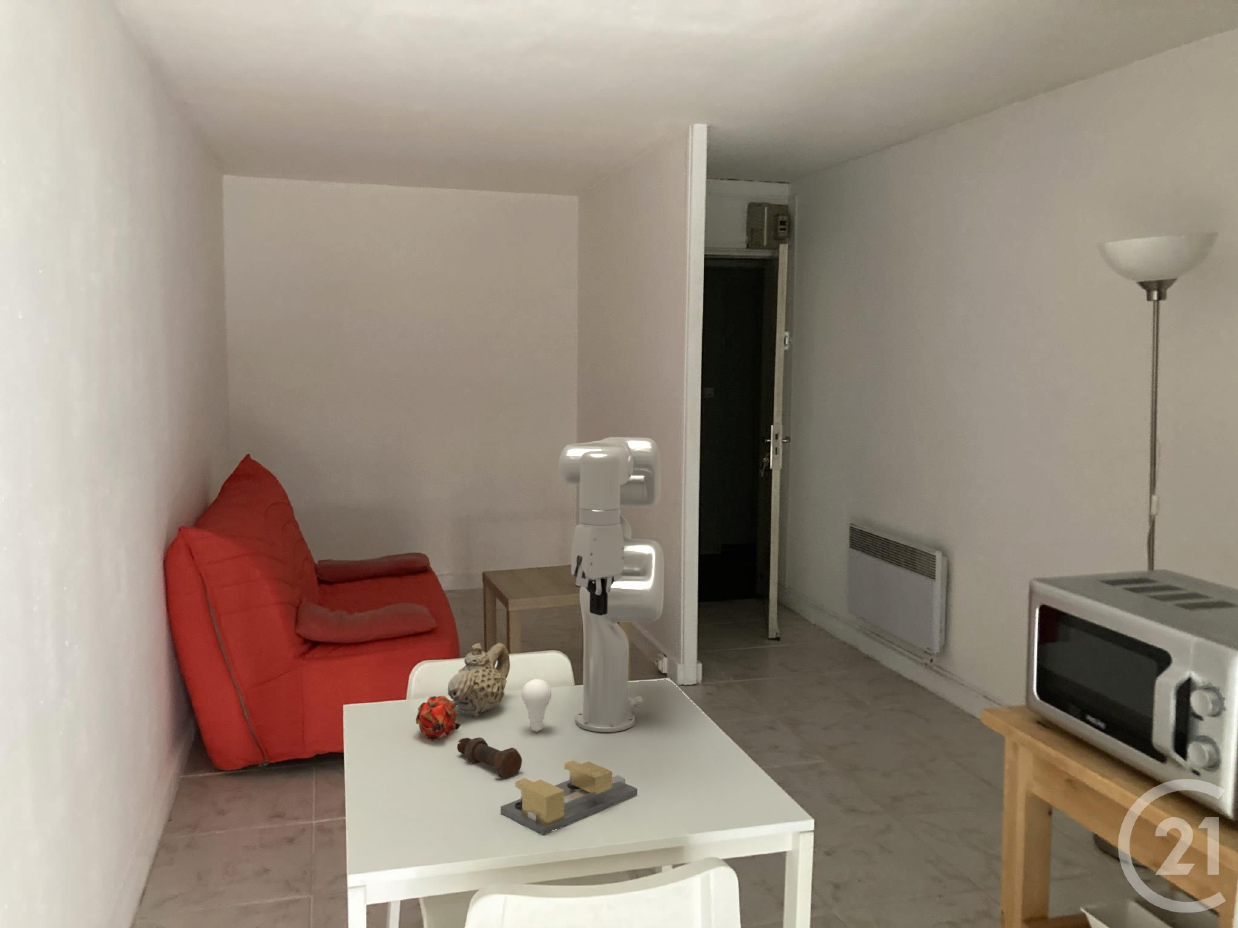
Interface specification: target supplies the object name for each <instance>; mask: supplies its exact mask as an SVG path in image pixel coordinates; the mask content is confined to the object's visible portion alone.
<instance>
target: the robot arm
mask: <svg viewBox="0 0 1238 928" xmlns="http://www.w3.org/2000/svg"><path fill="white" fill-rule="evenodd" d="M661 461H662V460H661V453H660V450H659V446H658V444H657V443H656V441H655V440H653V439H652V438H650V437H633V436H632V437H630V436H629V437H628V436H627V437H626V436H623V437H622V436H619V437H618V436H610V437H606V438H603V439H601V440H593V441H589V442H580V443H571V444H566V446H564V448H563V449H562V450H561V452H560V455H559V460H558V473H559V477H560V479H561V480H562V482H564V484H566V485H570V486H571V485H572V486H579V511H578V512H579V516H578V517H579V518H578V519H579V524H577V525H576V526H575V530H574V534H573V539H572V547H571V558H570V559H571V561H570V573H571V576H572V577H574V578H576V579H575V580H576V582H575V586H577V587H580V589H579V603H580V605H579V606H580V610H581V617H582V628H583V629H582V634H583V636H582V637H583V643H582V644H583V645H582V646H583V652H582V653H583V657H582V658H583V661H582V662H583V665H582V667H583V669H582V670H583V671H582V673H583V676H582V684H583V685H582V710H581V711H579V712H577V714H576V715H575V725H577V726H578V727H579V728H581V729H583V730H585V731H590V732H595V733H616V732H622V731H624V730H625V731H626V730H628V729H630V728H631V727H633V726H634V725H635V722H636V716H635V715H634V713H632V710H633V709H634V708H636V707H640V706H641V705H643V703H644V701H643V697H641V696H640V695H638V696H635V697H632V698H630V696H629V646H630V645H629V640H628V637H627V635H626V633H625V631H624V630H623V629H622V628H621V625H619V622H620V623H621V622H622V623H623V622H625V623H626V622H627V623H629V622H630V623H631V622H632V623H652V622H655V621H657V620H659V619H660V617H661V616H662V614H663V608H664V597H665V596H664V592H665V591H664V589H665V556H664V552H663V548H662V546H661V544H660V543H659V542H658V541H656V540H652V539H647V538H646V539H643V538H632V528H631V525H630V524H629V522H628V521H627V520H626V518H625V517H624V516H623V515H622V512H623V511H622V509H621V507H622V508H624V507H625V508H651V507H654V506H656V505H658V503H659V502H660V499H661V497H662V496H661V495H662V462H661Z"/></svg>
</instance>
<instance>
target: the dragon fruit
mask: <svg viewBox="0 0 1238 928" xmlns="http://www.w3.org/2000/svg"><path fill="white" fill-rule="evenodd" d="M456 707H457V704H456V703H455V702H454V701H453V700H450V699H449V698H448V697H447V696H446V695H439V696H436V695H435V696H429V697H428V699H427V700H426V702H422V703H421V704H420V705H419V706H418V708H417V710H418V712H417V715H416V717H415V724H416V725H418V728H419V732H421V733H424V736H425V737H426V738H427V740H429V741H431V742H435V741H436V740H438V739H441V738H445V737H446V736H449V735H451V734H452V733H453V732H454V731H457V730H459V729H460V726H461V725H462V723H461V722H458V720H459V712H458V711H457V710H456Z"/></svg>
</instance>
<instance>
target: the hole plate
mask: <svg viewBox="0 0 1238 928" xmlns="http://www.w3.org/2000/svg"><path fill="white" fill-rule="evenodd" d="M515 788H517V789H519V790H520V798H519V799H517V800H514V801H511V802H509V803H506V804H503V805H501V806H500V814H501V815H503V816H505V817H507V818H509V819H511V820H513V821H515V822H517V823H518V822H519V824H520V823H521V825H522V824H523V826H524V825H525V827H526V826H527V827H526V828H528V827H529V829H530V830H532V829H533V830H532V831H534V832H536V833H538V834H540V833H541V834H540V835H542V836H545V835H547V834H546V833H548V834H550V833H552V832H553V831H552V830H555V829H557V830H559V829H561V828H560V827H562V828H564V827H566V826H568V825H567V824H569V823H571V824H573V823H575V822H574V821H576V822H578V821H580V820H582V819H581V818H583V819H585V818H587V817H590V816H592V815H594V814H596V812H597V813H599V812H601V811H603V810H605V809H608V808H610V807H612V806H615V805H617V804H619V803H622V802H624V801H626V800H627V801H628V800H629V799H631V798H634V797H636V796H638V788H637V787H634V786H633V785H631V784H628V783H626V778H625V777H622V776H621V775H615V776H612V788H611V789H609V790H606V791H604V792H601V793H599V794H596V795H595V794H592V793H590V792H588V791H586V790H583V789H581V788H579V787H577V786H574V785H571V784H569V779H568V780H565V781H563V782H561V783H557V784H555V785H554V784H552V783H549V782H547V781H545V780H543V779H538V780H535V781H532V780H530V779H527V778H526V777H523V778H520V779H519V780H516V781H515ZM579 819H580V820H579ZM577 820H578V821H577ZM572 822H573V823H572ZM565 825H566V826H565ZM569 825H570V824H569ZM563 826H564V827H563ZM558 828H559V829H558ZM551 831H552V832H551ZM555 831H556V830H555ZM549 832H550V833H549Z"/></svg>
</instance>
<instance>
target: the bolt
mask: <svg viewBox="0 0 1238 928" xmlns="http://www.w3.org/2000/svg"><path fill="white" fill-rule="evenodd" d="M456 749H457V752H458V753H460V754H462V755H463V756H464V757H466V759H467V761H468V762H469V763H471V764H475V765H476V764H479V763H482V764H484V765H487V766H490V767H492V768H493V769H494V771H495V772H496V773H497V776H498V777H499V778H500V779H502V780H508V779H510V778H513V777H514V778H515V776H517V775H518V774H519V772H520V770H521V767H522V766H523V765H522V764H523V759H522V758H523V757H522V756H521V753H519V751H518V750H517V748H514V747H509V748H506V749H503V750H499V749H497V748H494V747H493V746H489V744H488V743H487V741H486V739H484V738H482V737H475V738H469V737H465V738H460V739H459V740H458V743H457V746H456Z"/></svg>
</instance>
